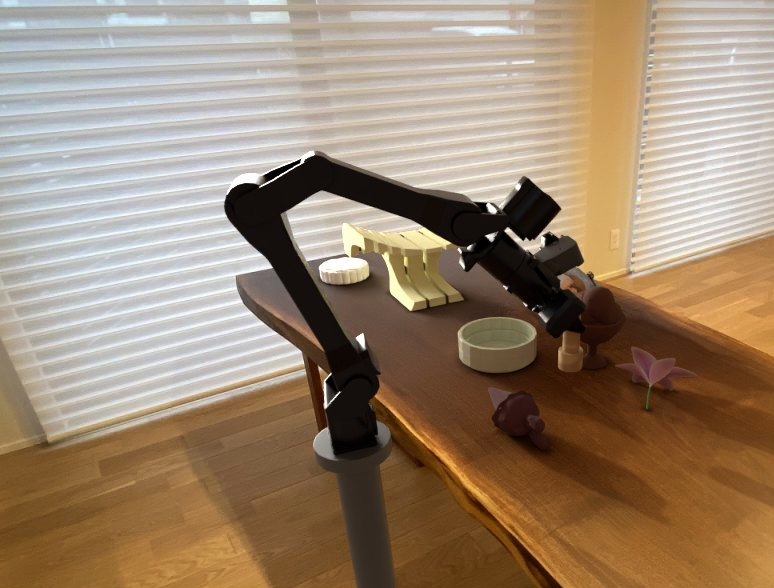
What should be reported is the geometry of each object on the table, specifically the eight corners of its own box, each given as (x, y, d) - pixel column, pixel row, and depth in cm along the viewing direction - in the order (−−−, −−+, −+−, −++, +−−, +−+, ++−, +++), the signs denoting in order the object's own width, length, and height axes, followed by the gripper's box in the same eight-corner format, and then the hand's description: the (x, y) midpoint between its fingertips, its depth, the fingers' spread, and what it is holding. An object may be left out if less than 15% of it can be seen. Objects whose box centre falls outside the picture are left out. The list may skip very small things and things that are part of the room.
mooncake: (310, 278, 154) (308, 264, 153) (348, 266, 163) (346, 252, 161) (341, 288, 148) (339, 274, 146) (379, 275, 156) (377, 261, 154)
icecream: (464, 382, 94) (518, 435, 84) (504, 360, 96) (562, 409, 86) (474, 414, 98) (526, 468, 88) (512, 392, 101) (567, 442, 90)
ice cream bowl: (630, 357, 115) (637, 280, 108) (605, 382, 107) (611, 301, 99) (579, 344, 120) (582, 270, 112) (551, 367, 112) (553, 289, 104)
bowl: (474, 381, 107) (473, 355, 105) (449, 348, 119) (448, 324, 117) (548, 365, 112) (549, 341, 110) (518, 335, 124) (517, 312, 121)
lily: (702, 412, 100) (706, 353, 100) (661, 411, 92) (666, 346, 92) (640, 407, 108) (644, 352, 108) (598, 405, 100) (602, 346, 100)
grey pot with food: (622, 315, 132) (617, 270, 120) (576, 345, 130) (568, 302, 119) (581, 277, 140) (573, 232, 129) (537, 305, 138) (526, 261, 127)
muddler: (571, 374, 95) (575, 301, 89) (553, 367, 97) (555, 295, 91) (587, 366, 97) (591, 294, 91) (568, 359, 99) (571, 288, 93)
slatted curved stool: (466, 273, 157) (463, 202, 148) (496, 292, 145) (495, 216, 136) (351, 295, 144) (340, 219, 135) (373, 319, 132) (363, 236, 123)
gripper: (574, 239, 77) (645, 311, 85) (528, 205, 92) (592, 269, 101) (514, 305, 79) (589, 369, 87) (479, 261, 94) (546, 319, 102)
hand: (580, 327), depth 94 cm, fingers closed on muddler, 2 cm apart
